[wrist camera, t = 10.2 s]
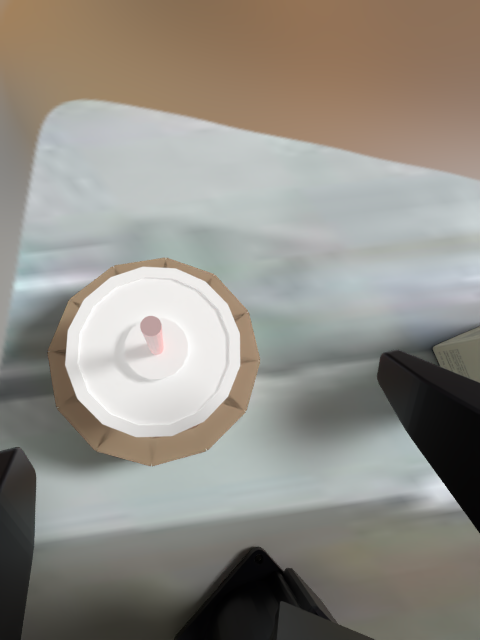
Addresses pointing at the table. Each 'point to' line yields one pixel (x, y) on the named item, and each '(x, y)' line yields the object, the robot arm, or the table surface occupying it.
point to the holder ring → (163, 446)
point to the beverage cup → (153, 352)
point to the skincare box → (461, 354)
